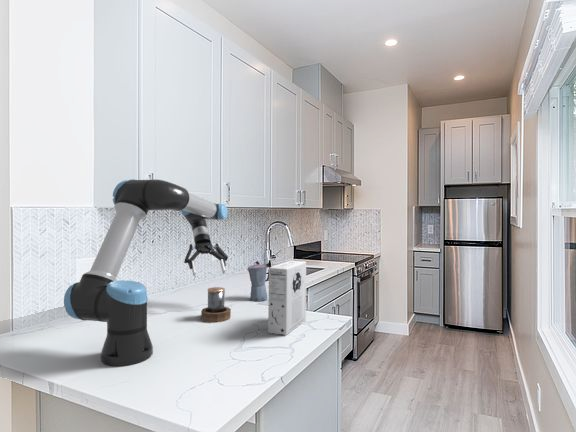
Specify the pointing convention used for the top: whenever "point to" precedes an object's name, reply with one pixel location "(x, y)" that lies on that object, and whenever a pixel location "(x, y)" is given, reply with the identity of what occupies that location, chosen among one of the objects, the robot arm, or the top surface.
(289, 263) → the cereal box
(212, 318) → the wooden bowl
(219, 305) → the canister
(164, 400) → the top surface
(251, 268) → the moka pot
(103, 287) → the robot arm
